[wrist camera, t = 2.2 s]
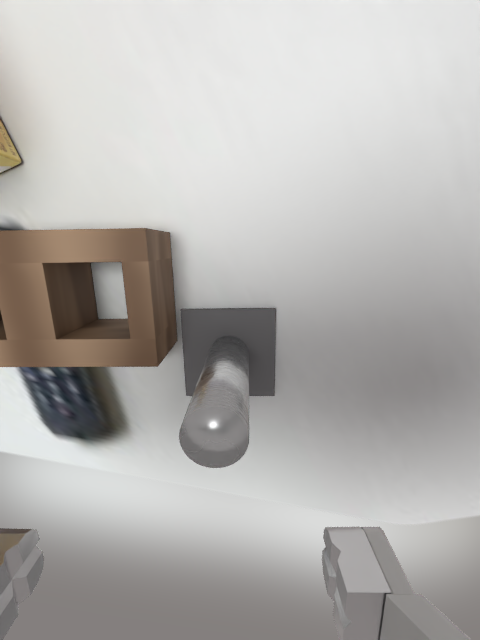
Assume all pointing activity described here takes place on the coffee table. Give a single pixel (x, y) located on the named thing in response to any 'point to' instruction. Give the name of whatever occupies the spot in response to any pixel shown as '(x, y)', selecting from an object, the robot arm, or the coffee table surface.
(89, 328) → the socket block
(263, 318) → the mat
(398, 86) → the coffee table surface
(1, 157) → the candy box
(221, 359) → the peg
